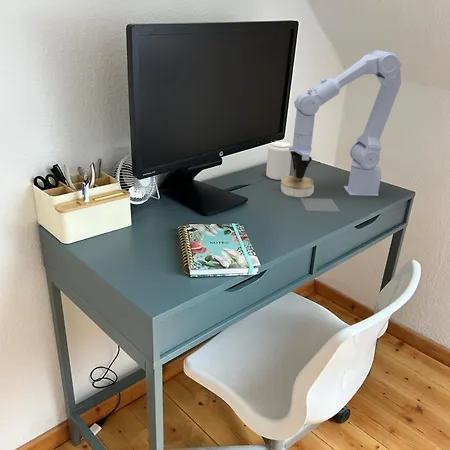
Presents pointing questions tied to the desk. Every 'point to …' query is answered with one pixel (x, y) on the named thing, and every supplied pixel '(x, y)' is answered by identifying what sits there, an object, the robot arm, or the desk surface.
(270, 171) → the beverage can
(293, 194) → the bowl
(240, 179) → the desk surface
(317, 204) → the mat
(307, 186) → the lid
